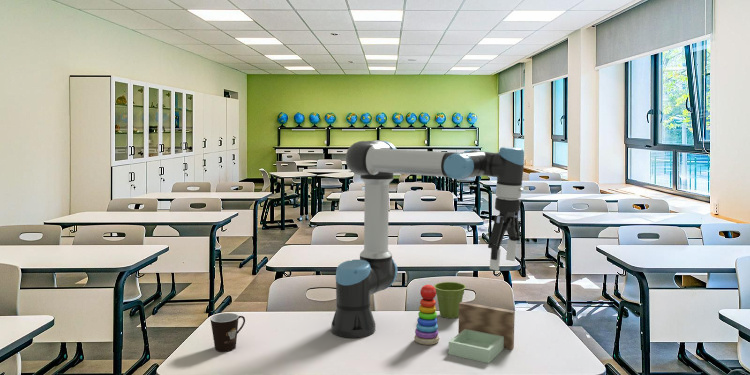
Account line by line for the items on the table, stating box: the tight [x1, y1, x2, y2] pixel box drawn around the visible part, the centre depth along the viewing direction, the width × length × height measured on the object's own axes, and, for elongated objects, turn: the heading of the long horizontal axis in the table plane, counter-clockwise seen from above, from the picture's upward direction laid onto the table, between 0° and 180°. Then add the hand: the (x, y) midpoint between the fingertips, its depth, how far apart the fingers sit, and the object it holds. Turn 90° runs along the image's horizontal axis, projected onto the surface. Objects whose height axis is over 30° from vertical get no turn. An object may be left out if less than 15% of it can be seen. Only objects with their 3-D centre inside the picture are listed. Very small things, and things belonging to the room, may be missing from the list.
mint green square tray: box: [448, 329, 505, 364], centre depth 177 cm, size 13×13×4 cm
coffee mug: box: [210, 312, 246, 353], centre depth 180 cm, size 12×9×10 cm
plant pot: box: [433, 281, 467, 319], centre depth 210 cm, size 12×12×11 cm
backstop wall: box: [457, 301, 516, 350], centre depth 183 cm, size 18×2×12 cm, turn 59°
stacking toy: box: [413, 284, 440, 346], centre depth 184 cm, size 8×8×19 cm
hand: (502, 264), depth 178 cm, fingers open, 13 cm apart
